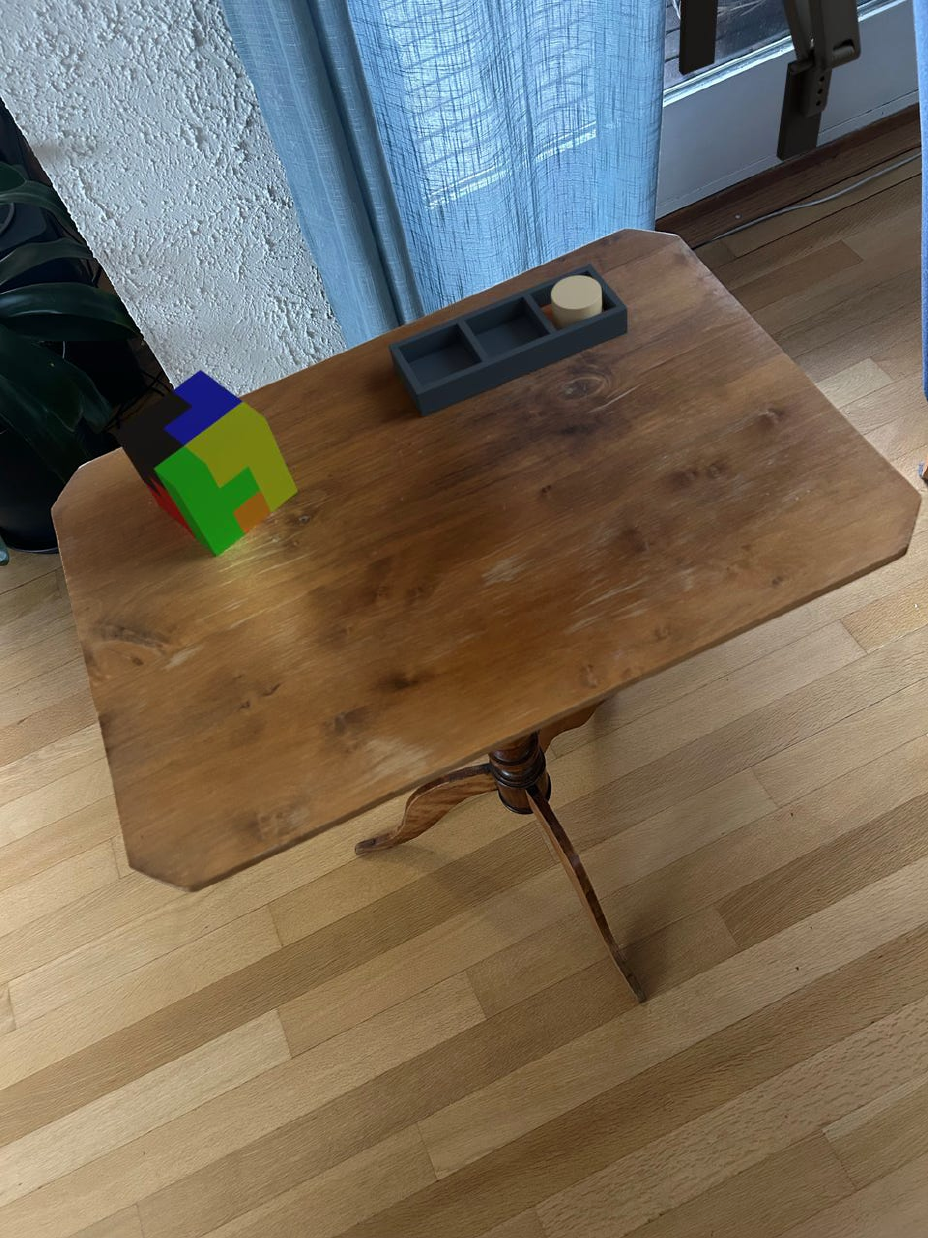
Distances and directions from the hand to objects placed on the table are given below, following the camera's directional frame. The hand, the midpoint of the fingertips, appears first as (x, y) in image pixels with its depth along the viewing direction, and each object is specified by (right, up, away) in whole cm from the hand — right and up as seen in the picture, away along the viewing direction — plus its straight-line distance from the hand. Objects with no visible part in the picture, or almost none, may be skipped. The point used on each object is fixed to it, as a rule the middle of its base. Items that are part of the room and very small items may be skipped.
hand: (743, 107), depth 73 cm
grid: (-16, -10, +28) cm, 34 cm away
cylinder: (-9, -7, +28) cm, 30 cm away
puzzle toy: (-44, -26, +23) cm, 56 cm away
